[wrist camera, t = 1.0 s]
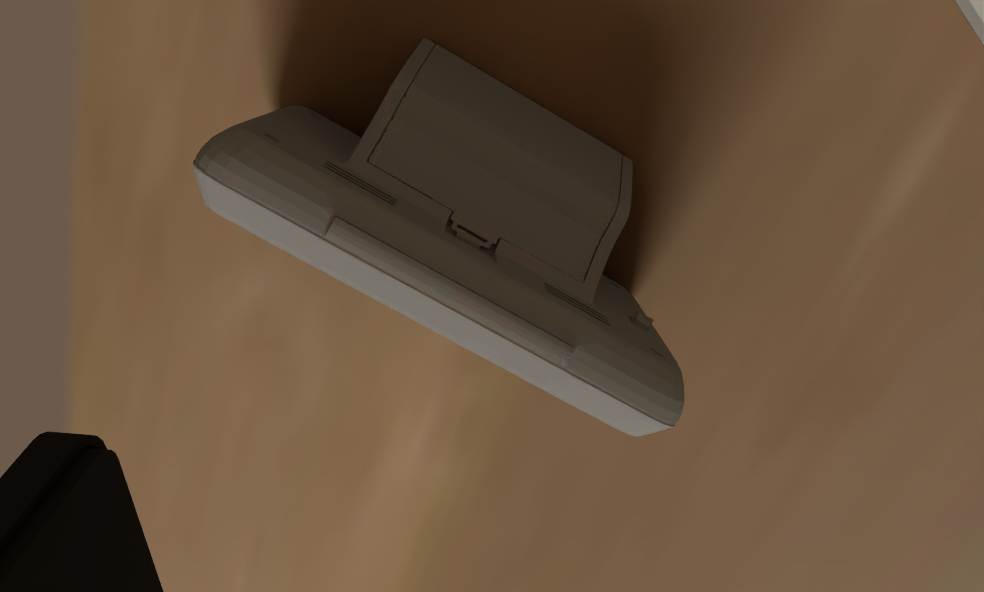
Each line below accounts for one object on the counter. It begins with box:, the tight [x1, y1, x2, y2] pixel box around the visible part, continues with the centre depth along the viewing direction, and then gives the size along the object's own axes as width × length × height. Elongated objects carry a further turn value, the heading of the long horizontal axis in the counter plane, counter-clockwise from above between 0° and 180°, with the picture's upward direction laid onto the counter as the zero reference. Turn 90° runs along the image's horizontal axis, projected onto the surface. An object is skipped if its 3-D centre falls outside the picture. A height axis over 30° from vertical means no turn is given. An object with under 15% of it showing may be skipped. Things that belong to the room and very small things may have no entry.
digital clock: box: [193, 38, 684, 437], centre depth 31 cm, size 16×9×11 cm, turn 49°
